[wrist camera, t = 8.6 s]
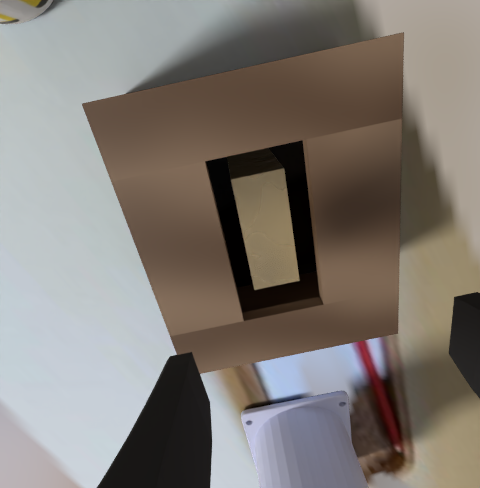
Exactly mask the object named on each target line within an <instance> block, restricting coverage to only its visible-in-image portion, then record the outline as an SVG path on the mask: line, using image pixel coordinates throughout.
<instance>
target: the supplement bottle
mask: <svg viewBox="0 0 480 488" xmlns="http://www.w3.org/2000/svg"><path fill="white" fill-rule="evenodd" d="M52 2H53V0H0V24H19V23H24V22H27V21H30V20H32V19H34V18H36V17H38V16H39V15H40V14H42V13H43V12H44V11H45V10H46V9H47V8H48V7H49V6H50V5H51V3H52Z"/></svg>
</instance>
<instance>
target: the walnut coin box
mask: <svg viewBox="0 0 480 488" xmlns="http://www.w3.org/2000/svg"><path fill="white" fill-rule="evenodd" d="M403 51H404V33H399V34H394V35H390V36H385V37H381V38H376V39H372V40H367V41H363V42H358V43H354V44H349V45H345V46H340V47H336V48H331V49H327V50H322V51H317V52H313V53H308V54H304V55H299V56H295V57H290V58H286V59H281V60H277V61H272V62H268V63H263V64H259V65H254V66H250V67H245V68H241V69H236V70H232V71H227V72H223V73H218V74H214V75H209V76H205V77H200V78H196V79H191V80H187V81H182V82H178V83H173V84H169V85H164V86H160V87H155V88H151V89H146V90H142V91H137V92H133V93H128V94H124V95H119V96H115V97H110V98H106V99H101V100H97V101H92V102H88V103H83V104H82V106H83V108H84V111H85V114H86V116H87V119H88V122H89V124H90V127H91V129H92V132H93V135H94V137H95V140H96V143H97V145H98V148H99V150H100V153H101V156H102V158H103V161H104V164H105V166H106V169H107V171H108V174H109V177H110V179H111V182H112V185H113V187H114V190H115V193H116V195H117V198H118V200H119V203H120V206H121V208H122V211H123V214H124V216H125V219H126V221H127V224H128V227H129V229H130V232H131V235H132V237H133V240H134V242H135V245H136V248H137V250H138V253H139V256H140V258H141V261H142V263H143V266H144V269H145V271H146V274H147V277H148V279H149V282H150V285H151V287H152V290H153V292H154V295H155V298H156V300H157V303H158V306H159V308H160V311H161V313H162V316H163V319H164V321H165V324H166V327H167V329H168V332H169V334H170V337H171V340H172V342H173V345H174V348H175V350H176V353H177V355H179V354H184V353H189V352H192V354H193V357H194V359H195V362H196V365H197V368H198V371H199V373H200V374H201V373H206V372H211V371H216V370H221V369H226V368H231V367H235V366H240V365H245V364H250V363H255V362H260V361H265V360H270V359H275V358H280V357H285V356H290V355H294V354H299V353H304V352H309V351H314V350H319V349H324V348H329V347H334V346H339V345H344V344H349V343H353V342H358V341H363V340H368V339H373V338H378V337H383V336H388V335H393V334H398V305H399V254H400V204H401V153H402V103H403ZM301 140H303V148H304V157H305V166H306V175H307V184H308V193H309V203H310V212H311V221H312V230H313V239H314V248H315V257H316V266H317V271H316V272H311V273H306V274H301V275H299V280H300V281H296V282H291V283H286V284H281V285H276V286H271V287H267V288H262V289H257V290H254V286H253V285H248V286H244V287H239V288H237V287H236V283H235V279H234V275H233V271H232V267H231V262H230V258H229V254H228V250H227V246H226V242H225V238H224V234H223V229H222V225H221V221H220V217H219V213H218V209H217V205H216V201H215V197H214V192H213V188H212V184H211V180H210V176H209V172H208V168H207V164H206V161H209V160H214V159H218V158H223V157H227V156H232V155H237V154H241V153H246V152H250V151H255V150H260V149H264V148H269V147H274V146H278V145H283V144H287V143H292V142H297V141H301Z"/></svg>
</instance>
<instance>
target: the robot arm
mask: <svg viewBox="0 0 480 488" xmlns="http://www.w3.org/2000/svg"><path fill="white" fill-rule="evenodd" d="M449 354H450V356H451V358H452V359H453V361H454V362H455V364H456V366H457V367H458V369H459V370H460V372H461V373H462V375H463V376H464V378H465V379H466V381H467V382H468V384H469V385H470V387H471V388H472V389H473V391H474V392H475V393H476V394H477V396H478V397H479V398H480V293H478V292H476V293H471V294H466V295H462V296H457V297H454V306H453V316H452V326H451V336H450V346H449ZM241 420H242V423H243V426H244V430H245V433H246V436H247V440H248V443H249V446H250V450H251V453H252V456H253V460H254V463H255V466H256V470H257V473H258V478H259V487H260V488H369V487H368V484H367V482H366V479H365V477H364V474H363V471H362V469H361V466H360V463H359V461H358V458H357V456H356V453H355V450H354V448H353V445H352V439H351V425H350V412H349V399H348V395H347V393H346V392H345V391H337V392H332V393H327V394H322V395H317V396H312V397H307V398H302V399H297V400H292V401H287V402H282V403H277V404H272V405H267V406H262V407H257V408H252V409H247V410H244V411H243V412H242V413H241ZM211 455H212V430H211V413H210V401H209V399H208V396H207V393H206V390H205V387H204V385H203V382H202V379H201V376H200V373H199V371H198V368H197V365H196V362H195V359H194V357H193V354H192V352H189V353H184V354H179V355H175V356H170V357H169V359H168V360H167V362H166V364H165V366H164V368H163V370H162V372H161V374H160V377H159V379H158V381H157V383H156V385H155V387H154V389H153V391H152V393H151V395H150V397H149V398H148V400H147V402H146V404H145V406H144V408H143V410H142V412H141V414H140V415H139V417H138V419H137V421H136V423H135V425H134V427H133V428H132V430H131V432H130V434H129V436H128V437H127V439H126V441H125V443H124V444H123V446H122V448H121V449H120V451H119V453H118V454H117V456H116V458H115V459H114V461H113V463H112V464H111V466H110V468H109V469H108V471H107V473H106V474H105V476H104V478H103V479H102V481H101V482H100V484H99V485H98V487H97V488H210V477H211Z"/></svg>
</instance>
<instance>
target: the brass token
mask: <svg viewBox="0 0 480 488" xmlns="http://www.w3.org/2000/svg"><path fill="white" fill-rule="evenodd" d="M227 161H228V166H229V172H230V177H231V182H232V187H233V192H234V196H235V201H236V206H237V211H238V215H239V220H240V225H241V229H242V234H243V239H244V244H245V248H246V253H247V258H248V262H249V267H250V272H251V277H252V281H253V286H254V290H257V289H262V288H267V287H271V286H276V285H281V284H286V283H291V282H296V281H300V280H299V273H298V266H297V258H296V251H295V244H294V236H293V229H292V222H291V214H290V207H289V200H288V192H287V185H286V178H285V171H284V167H283V166H282V165H281V164H280V162H279V161H278V160H277V159H276V157H275V156H274V155H273V153H272V152H271V151H270V150H269V148H264V149H260V150H255V151H250V152H246V153H241V154H237V155H232V156H227Z"/></svg>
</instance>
